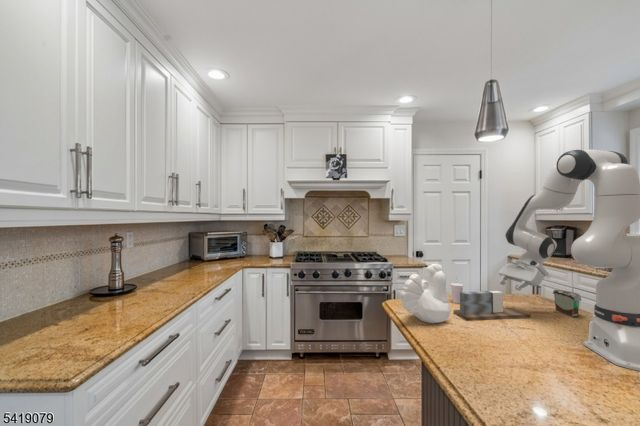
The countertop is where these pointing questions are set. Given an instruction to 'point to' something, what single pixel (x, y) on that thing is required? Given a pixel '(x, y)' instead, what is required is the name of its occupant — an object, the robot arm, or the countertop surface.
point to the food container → (567, 302)
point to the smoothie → (456, 291)
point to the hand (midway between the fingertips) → (508, 286)
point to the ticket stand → (484, 308)
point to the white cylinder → (497, 301)
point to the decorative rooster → (427, 295)
